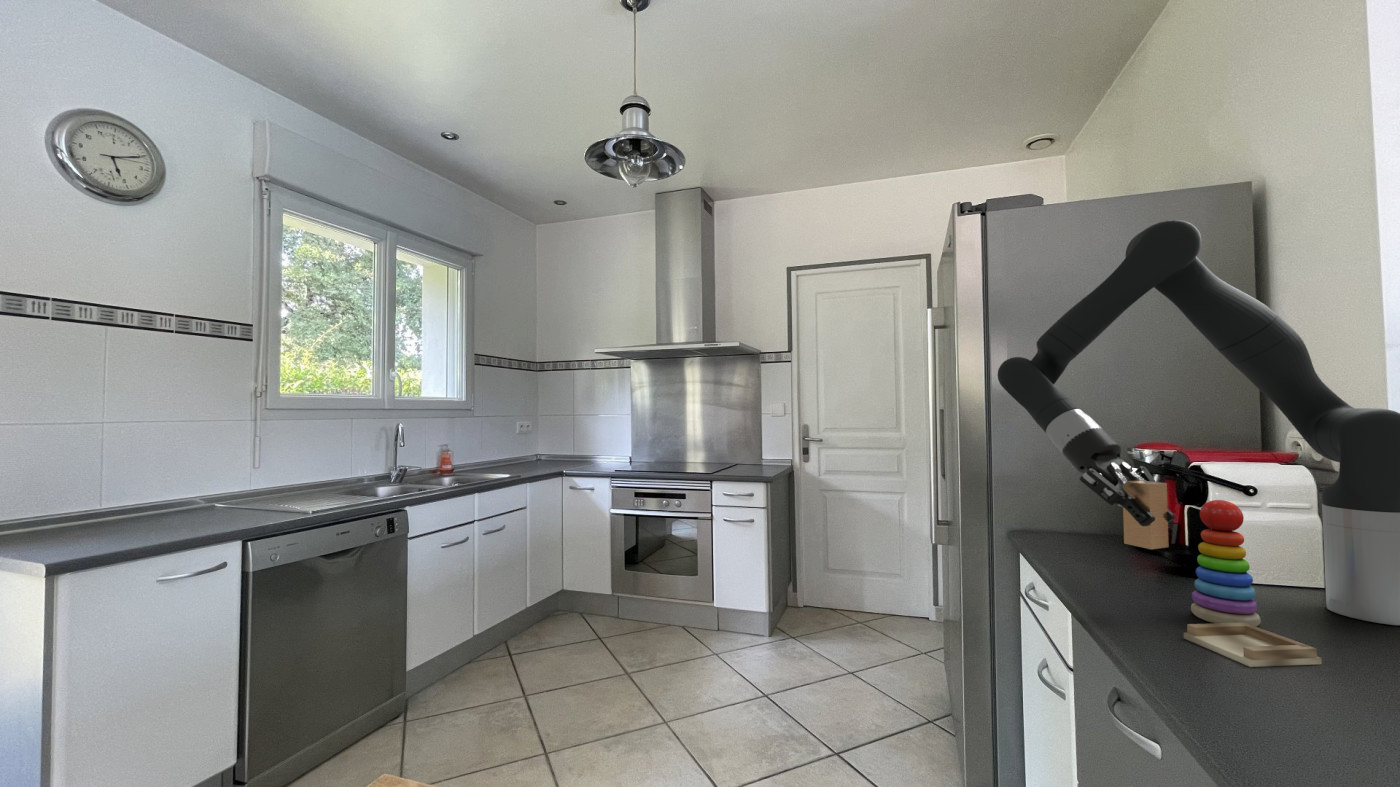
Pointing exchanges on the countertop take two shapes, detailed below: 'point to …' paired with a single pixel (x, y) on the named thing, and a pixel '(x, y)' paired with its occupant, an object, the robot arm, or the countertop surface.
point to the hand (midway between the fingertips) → (1159, 521)
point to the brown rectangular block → (1156, 504)
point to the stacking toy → (1223, 569)
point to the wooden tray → (1251, 645)
